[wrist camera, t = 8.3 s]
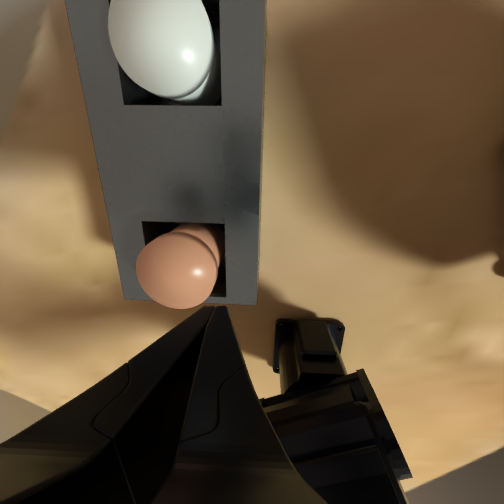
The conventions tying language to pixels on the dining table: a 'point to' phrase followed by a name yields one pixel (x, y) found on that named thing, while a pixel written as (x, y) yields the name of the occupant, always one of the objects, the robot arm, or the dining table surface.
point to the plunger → (167, 48)
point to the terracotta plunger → (182, 264)
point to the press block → (180, 146)
